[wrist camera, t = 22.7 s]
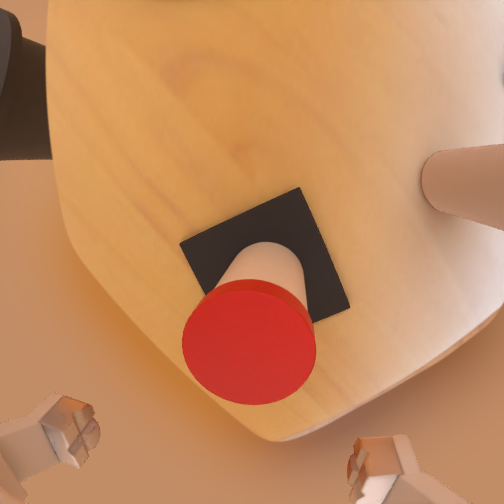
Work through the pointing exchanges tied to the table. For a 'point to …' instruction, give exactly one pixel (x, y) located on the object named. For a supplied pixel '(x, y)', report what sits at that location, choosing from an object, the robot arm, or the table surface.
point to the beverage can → (467, 183)
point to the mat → (276, 231)
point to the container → (253, 329)
